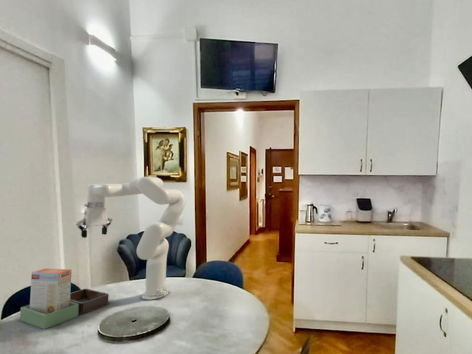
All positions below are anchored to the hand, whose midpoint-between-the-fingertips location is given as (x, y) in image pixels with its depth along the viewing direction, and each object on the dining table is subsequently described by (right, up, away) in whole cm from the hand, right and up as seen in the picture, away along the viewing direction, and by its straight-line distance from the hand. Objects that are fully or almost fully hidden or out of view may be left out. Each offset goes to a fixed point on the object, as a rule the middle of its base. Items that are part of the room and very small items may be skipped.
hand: (94, 235), depth 141 cm
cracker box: (+3, -31, -27) cm, 41 cm away
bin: (+3, -31, -27) cm, 41 cm away
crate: (+7, -32, -15) cm, 36 cm away
